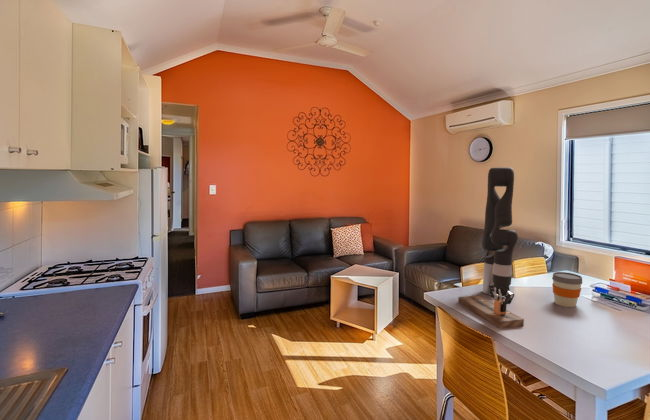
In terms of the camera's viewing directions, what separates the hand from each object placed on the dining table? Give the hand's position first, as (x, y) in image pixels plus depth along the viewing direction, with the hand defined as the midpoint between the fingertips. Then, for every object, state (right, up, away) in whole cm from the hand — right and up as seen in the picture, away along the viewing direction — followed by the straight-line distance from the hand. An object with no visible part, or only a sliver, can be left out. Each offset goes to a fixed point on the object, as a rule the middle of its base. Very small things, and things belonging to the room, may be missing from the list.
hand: (499, 310), depth 153 cm
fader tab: (0, -1, 0) cm, 1 cm away
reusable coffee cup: (+44, -3, +20) cm, 48 cm away
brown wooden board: (-2, -4, +8) cm, 9 cm away
